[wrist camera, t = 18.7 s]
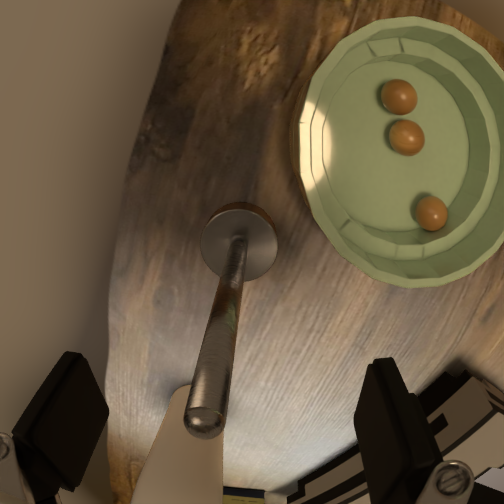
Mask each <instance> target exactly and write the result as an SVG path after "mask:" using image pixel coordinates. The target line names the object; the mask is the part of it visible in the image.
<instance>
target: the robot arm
mask: <svg viewBox="0 0 504 504" xmlns="http://www.w3.org/2000/svg"><path fill="white" fill-rule="evenodd" d="M108 416H109V408H108V405H107V403H106V401H105V399H104V397H103V395H102V393H101V391H100V389H99V386H98V384H97V382H96V380H95V378H94V375H93V373H92V371H91V368H90V366H89V364H88V361H87V359H86V358H84V357H83V355H82V354H81V353H76V352H69V351H66V352H65V353H64V354H63V355H62V356H61V358H60V359H59V361H58V362H57V364H56V365H55V366H54V368H53V369H52V371H51V372H50V373H49V375H48V376H47V378H46V379H45V381H44V382H43V384H42V385H41V387H40V388H39V390H38V391H37V392H36V394H35V395H34V397H33V399H32V400H31V402H30V403H29V405H28V406H27V408H26V409H25V411H24V413H23V414H22V416H21V417H20V419H19V421H18V422H17V424H16V425H15V427H14V428H13V430H12V434H13V437H12V438H11V437H10V436H9V435H8V434H6V433H1V432H0V504H62V502H61V499H60V496H59V493H58V491H59V488H60V487H61V488H62V489H65V490H68V491H71V492H74V490H75V487H78V486H79V485H80V483H81V481H82V478H83V476H84V473H85V471H86V468H87V466H88V463H89V461H90V458H91V456H92V454H93V451H94V449H95V447H96V444H97V442H98V440H99V437H100V435H101V433H102V430H103V428H104V426H105V423H106V421H107V419H108ZM354 427H355V431H356V436H357V440H358V445H359V449H360V454H361V458H362V463H363V468H364V472H365V477H366V482H367V487H368V492H369V497H370V502H371V504H504V493H503V492H501V491H498V490H495V489H492V488H490V487H487V486H485V485H482V484H479V483H476V482H474V481H475V479H474V473H473V471H472V469H471V468H470V467H469V466H468V465H467V464H466V463H464V462H462V461H459V460H446V461H444V460H443V457H442V454H441V452H440V449H439V447H438V444H437V442H436V439H435V437H434V434H433V432H432V430H431V427H430V425H429V422H428V420H427V418H426V415H425V413H424V411H423V408H422V406H421V404H420V401H419V399H418V397H417V396H416V395H415V394H414V393H409V392H408V390H407V388H406V386H405V383H404V381H403V379H402V376H401V374H400V372H399V370H398V368H397V365H396V363H395V361H394V359H393V358H392V357H388V358H379V359H374V361H373V364H369V365H368V367H367V371H366V375H365V378H364V382H363V386H362V390H361V393H360V397H359V400H358V404H357V407H356V411H355V414H354Z"/></svg>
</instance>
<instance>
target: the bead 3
mask: <svg viewBox="0 0 504 504" xmlns="http://www.w3.org/2000/svg"><path fill="white" fill-rule="evenodd" d="M415 216H416V220H417V222H418V224H419V225H420V226H421V227H422V228H424V229H425V230H428V231H436V230H439V229H440V228H442V227H443V226H444V224H445V223H446V221H447V217H448V211H447V207H446V205H445V203H444V202H443V201H442V200H441V199H439V198H438V197H435V196H427V197H424V198H423V199H421V200H420V201H419V202H418V204H417V206H416V210H415Z"/></svg>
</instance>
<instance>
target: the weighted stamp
mask: <svg viewBox="0 0 504 504" xmlns="http://www.w3.org/2000/svg"><path fill="white" fill-rule="evenodd" d="M200 249H201V254H202V257H203V259H204V261H205V263H206V264H207V266H208V267H209V268H210V269H211V270H212V271H213V272H214V273H215V274H216V275H218V276H220V280H219V284H218V287H217V291H216V295H215V298H214V302H213V305H212V309H211V313H210V316H209V320H208V324H207V327H206V331H205V335H204V339H203V342H202V346H201V350H200V354H199V357H198V361H197V365H196V369H195V373H194V376H193V380H192V384H191V388H190V392H189V396H188V400H187V404H186V407H185V411H184V417H183V421H184V426H185V428H186V430H187V431H188V432H189V433H190V434H191V435H192V436H194V437H196V438H198V439H202V440H208V439H213V438H215V437H217V436H218V435H219V434H220V433H221V432H222V431H223V429H224V427H225V424H226V417H227V409H228V401H229V393H230V385H231V377H232V369H233V361H234V354H235V346H236V338H237V330H238V322H239V314H240V307H241V299H242V291H243V283H244V282H246V281H251V280H254V279H256V278H258V277H260V276H262V275H263V274H265V273H266V272H267V271H268V270H269V269H270V268H271V266H272V265H273V263H274V262H275V259H276V257H277V253H278V239H277V231H276V227H275V224H274V222H273V220H272V219H271V217H270V216H269V215H268V214H267V213H266V212H265V211H264V210H263V209H261V208H260V207H258V206H256V205H254V204H251V203H246V202H234V203H230V204H227V205H224V206H222V207H221V208H219V209H218V210H217V211H216V212H214V214H213V215H212V216H211V217H210V219H209V221H208V222H207V224H206V226H205V227H204V230H203V232H202V235H201V240H200Z"/></svg>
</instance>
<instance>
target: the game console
mask: <svg viewBox="0 0 504 504" xmlns="http://www.w3.org/2000/svg"><path fill="white" fill-rule="evenodd" d="M418 399H419V401H420V404H421V406H422V408H423V411H424V413H425V415H426V418H427V420H428V422H429V425H430V427H431V430H432V432H433V434H434V437H435V439H436V442H437V444H438V447H439V449H440V452H441V454H442V457H443V460H444V461H446V460H459V461H462V462H464V463H466V464H467V465H468V466H469V467H470V468H471V469H472V471H473V473H474V479H475V480H476V479H477V478H479V477H480V476H481V475H483V474H484V473H486V472H487V471H488V470H489V469H491V468H492V467H493V468H499V469H501V468H502V467H504V394H503V393H502V392H500V391H499V390H498V389H497V388H495V387H494V386H493V385H491V384H490V383H489V382H487V381H486V380H485V379H484V380H483V381H481V380H479V379H478V378H477V377H475V376H474V375H472V374H471V373H470V372H468V371H467V370H466V369H465V370H464V371H463V372H462V373H461V374H460V375H459V376H458V377H457V378H455V377H454V376H452V375H451V374H449V373H447V372H446V371H445V372H444V373H443V374H442V375H441V376H440V377H439V378H438V379H437V380H436V381H435V382H434V383H432V384H431V385H430V386H429V387H428V388H427V389H426V390H425V391H424V392H423V393H421V394H420V395H419V396H418ZM287 504H371V502H370V497H369V492H368V487H367V482H366V477H365V472H364V468H363V463H362V458H361V454H360V449H359V445H358V444H356V445H355V446H353V447H352V448H351V449H349V450H348V451H346V452H345V453H343V454H342V455H340V456H338V457H337V458H335V459H334V460H332V461H331V462H329V463H327V464H326V465H324V466H322V467H321V468H319V469H317V470H316V471H314V472H312V473H311V474H309V475H307V476H305V477H304V478H302V479H300V480H298V492H296V493H294V494H292V495H290V496H288V497H287Z"/></svg>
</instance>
